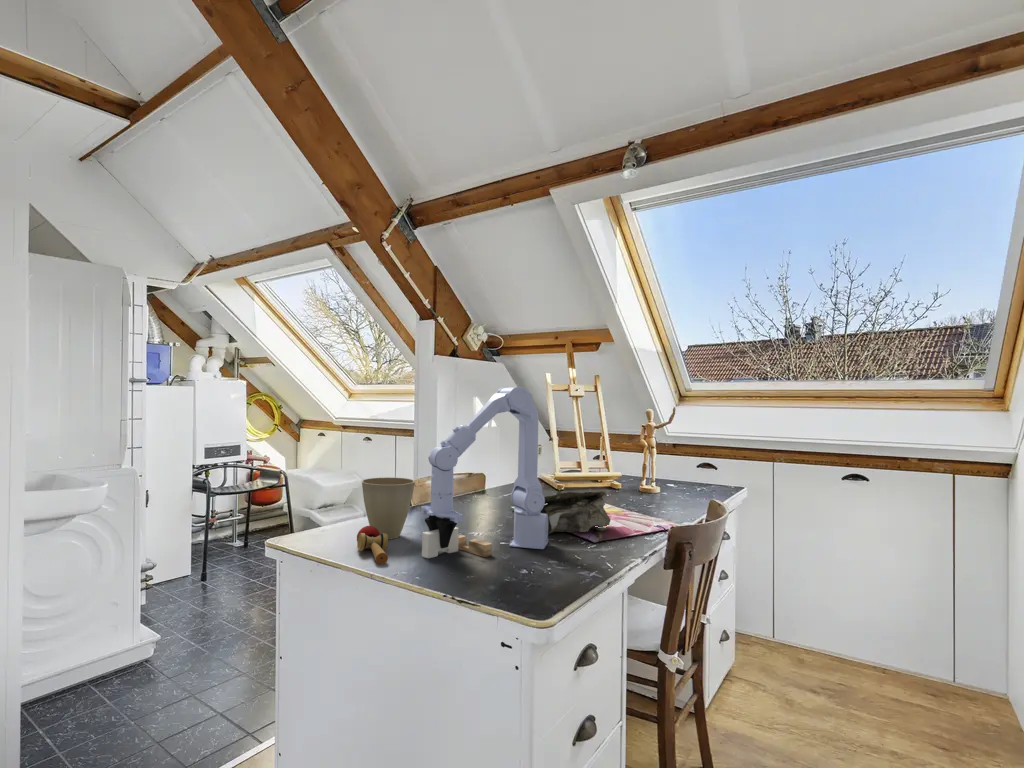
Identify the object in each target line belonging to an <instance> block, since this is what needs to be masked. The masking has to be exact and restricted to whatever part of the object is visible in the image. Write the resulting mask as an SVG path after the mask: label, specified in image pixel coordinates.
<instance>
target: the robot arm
mask: <svg viewBox="0 0 1024 768" xmlns="http://www.w3.org/2000/svg"><path fill="white" fill-rule="evenodd" d="M506 412H509V413H511V414H512V415H513V416H514V418H516V419H517V421H518V451H517V452H518V454H517V455H518V458H517V459H518V460H517V462H518V463H517V477H516V479H515V480H514V482H513V489H512V491H511V493H510V501H511V504H512V505H513V506H514V511H513V512H514V513H513V516H514V517H513V540H512V541H511V542H510V543H509V547H511V548H525V549H535V550H544V549H545V548H546V546H547V545H548V543H549V535H548V515H547V514H543V513H540V511H541V510H542V509H543V507H544V505H546V504H545V498H544V497H545V496H544V494H543V486H542V483H541V481H540V480H539V478H538V465H539V464H538V459H539V458H538V453H539V412H538V409H537V407H536V405H535V403H534V400H533V394H532V393H531V392H529V390H527V389H526V388H524V386H523V387H522V386H511V387H509V386H503V387H501V388H499V389H498V390H497V392H495V393H494V394H492V395H491V397H490V398H489V399H488V401H487V402H486V403H485V404H484V405H483V406H482V407H481V409H480V410H479V411H477V413H476V414H475V415H474V416H473V417H472V418H471V420H470V421H469V422H468V423H467V424H460V425H459V426H454V428H452V431H453V432H451V434H450V435H448V437H447V438H445V440H441V441H440V443H439V444H440V445H439V446H436V447H434V448H433V449H432V450H431V451H430V455H429V456H428V462H429V464H430V465H431V476H430V478H431V479H430V505H424V506H423V505H422V506H420V507H421V508H420V514H421V515H427V516H428V517H425V518H424V522H425V524H426V526H427V528H428V531H432V530H437V529H439V535H440V547H441V548H446V547H448V545H449V542H450V538H451V535H452V532H453V530H454V528H455V527H457V524H460V523H463V521H464V514H463V513H460V512H458V511H456V510H454V508H453V505H454V468H455V467H456V466H457V464H458V460H459V458H460V457H461V456H462V455H463V453H465V452H466V451H467V449H469V448H470V446H471V445H473V443H475V441H476V437H477V433H478V432H479V431H480V430H481V429H482V428H483V427H484V426H486V424H488V423H489V422H490V421H491V420H492V419H493V418H494V417H495V416H496V415H497V414H502V413H506Z"/></svg>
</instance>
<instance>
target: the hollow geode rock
mask: <svg viewBox="0 0 1024 768" xmlns="http://www.w3.org/2000/svg"><path fill="white" fill-rule="evenodd" d="M604 496H607V492H605V491H600V490H599V491H596V492H592V491H585V492H573V491H569V492H562V493H561V492H560V493H556V494H553V495H547V496H544V498H545V504H544V507H543V509H542V510H541V511H540V513H543V514H547V515H548V536H549V535H550V534H552V533H557V532H559V533H560V532H562V533H563V532H566V533H574V532H579V533H582V532H583V533H587V532H589V531H590V529H593V530H596V531H600V532H601V531H607V530H608V528H609V526H610V524H611V523H610V522H611V518H610V516H609V515H608V513H607V511H606V510H605V508H604V507H605V505H606V503H605V500H604V498H603V497H604ZM607 525H609V526H608V527H606V528H598V527H603V526H607ZM595 526H598V527H595ZM586 531H587V532H586Z"/></svg>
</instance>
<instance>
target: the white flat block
mask: <svg viewBox="0 0 1024 768" xmlns="http://www.w3.org/2000/svg"><path fill="white" fill-rule="evenodd" d="M459 529H460V528H459V527H457V526H455V528H454V530H453V532H452V535H451V538H450V542H449V545H448V547H446V548H441V547H440V535H439V529H437V530H432V531H429V530H428V531H423V532H422V535H421V536H422V537H421V538H422V539H421V557H423V558H426V559H431V558H435V557H438V556H439V552H441V551H442V552H443V553H446V554H452V553H457V552H459V549H458V539H459V534H460V533H459Z"/></svg>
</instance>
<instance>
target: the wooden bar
mask: <svg viewBox="0 0 1024 768" xmlns="http://www.w3.org/2000/svg"><path fill="white" fill-rule="evenodd" d="M458 550H460V551H462V552H467V553H471V554H473V555H477V556H480V557H482V558H486V557H487V558H488V557H491V556H493V543H491V542H487V541H484V540H481V539H477V538H473V539H470V540H468V543H467V536H466V535H463V534H460V533H459V539H458Z"/></svg>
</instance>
